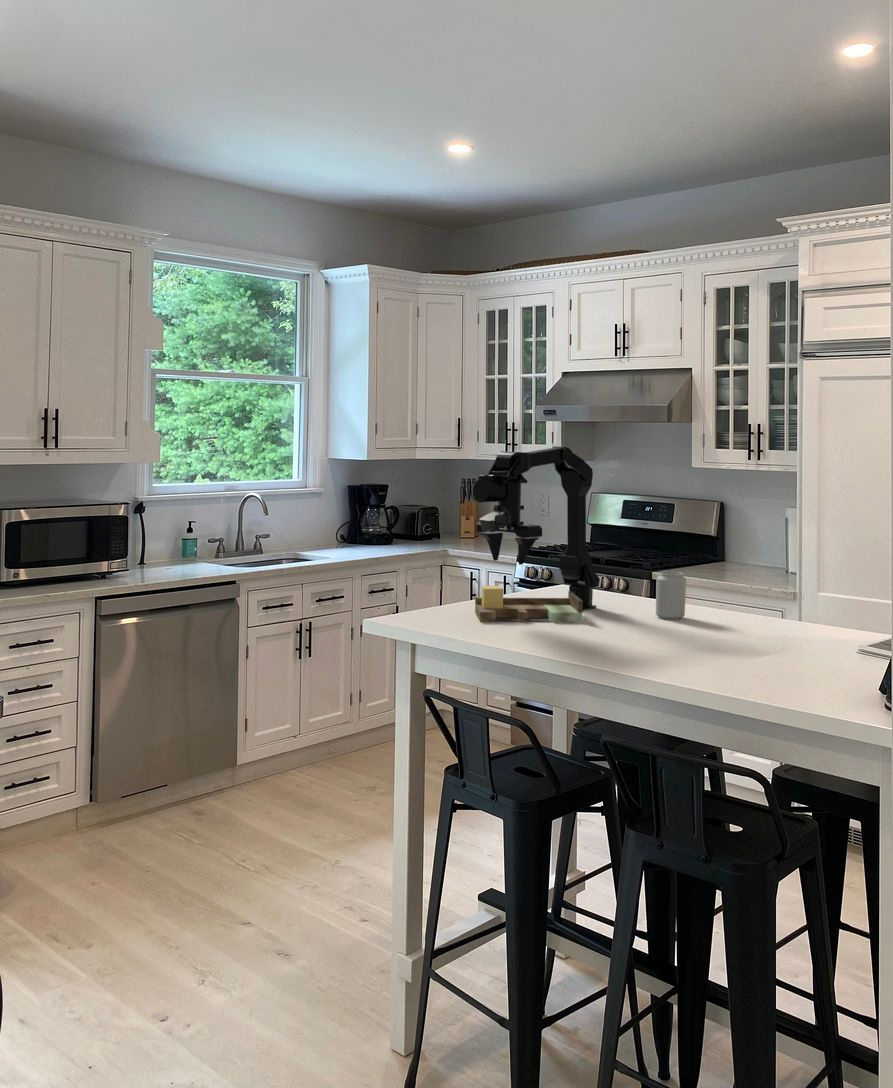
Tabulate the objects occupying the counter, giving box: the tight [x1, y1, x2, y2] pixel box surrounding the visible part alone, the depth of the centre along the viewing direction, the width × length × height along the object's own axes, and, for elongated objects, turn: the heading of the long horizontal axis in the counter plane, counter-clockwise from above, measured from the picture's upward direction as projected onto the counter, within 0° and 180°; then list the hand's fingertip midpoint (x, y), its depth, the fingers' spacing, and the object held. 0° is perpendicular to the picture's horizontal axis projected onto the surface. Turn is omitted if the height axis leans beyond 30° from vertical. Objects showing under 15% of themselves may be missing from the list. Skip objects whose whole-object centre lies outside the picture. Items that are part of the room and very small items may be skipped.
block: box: [481, 585, 504, 608], centre depth 255 cm, size 5×5×5 cm
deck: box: [474, 593, 583, 623], centre depth 254 cm, size 26×13×6 cm, turn 94°
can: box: [655, 571, 687, 621], centre depth 256 cm, size 8×8×12 cm
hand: (508, 562), depth 250 cm, fingers open, 9 cm apart
